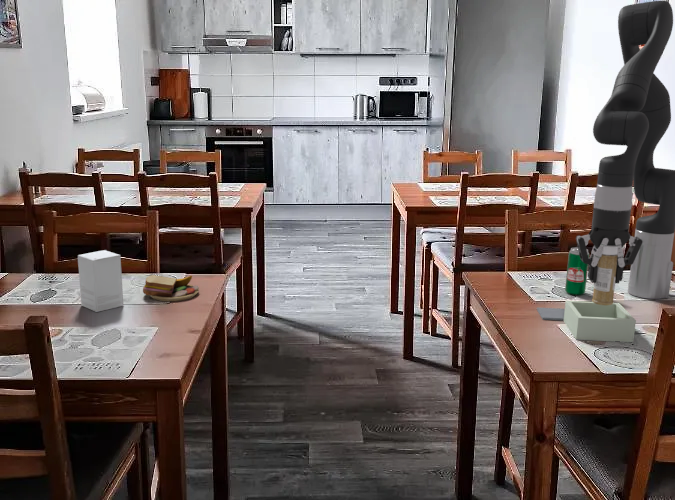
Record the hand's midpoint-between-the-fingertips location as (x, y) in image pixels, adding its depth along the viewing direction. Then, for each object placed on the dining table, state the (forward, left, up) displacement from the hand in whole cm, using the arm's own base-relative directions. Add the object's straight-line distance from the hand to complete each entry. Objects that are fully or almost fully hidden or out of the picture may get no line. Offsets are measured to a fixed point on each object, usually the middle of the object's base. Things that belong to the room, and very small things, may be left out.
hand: (604, 281), depth 153 cm
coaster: (+7, -10, -12) cm, 17 cm away
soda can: (-2, -29, -12) cm, 31 cm away
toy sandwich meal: (+102, -12, -12) cm, 103 cm away
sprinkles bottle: (0, 0, -5) cm, 5 cm away
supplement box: (+115, -1, -12) cm, 116 cm away
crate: (0, 0, -12) cm, 12 cm away
